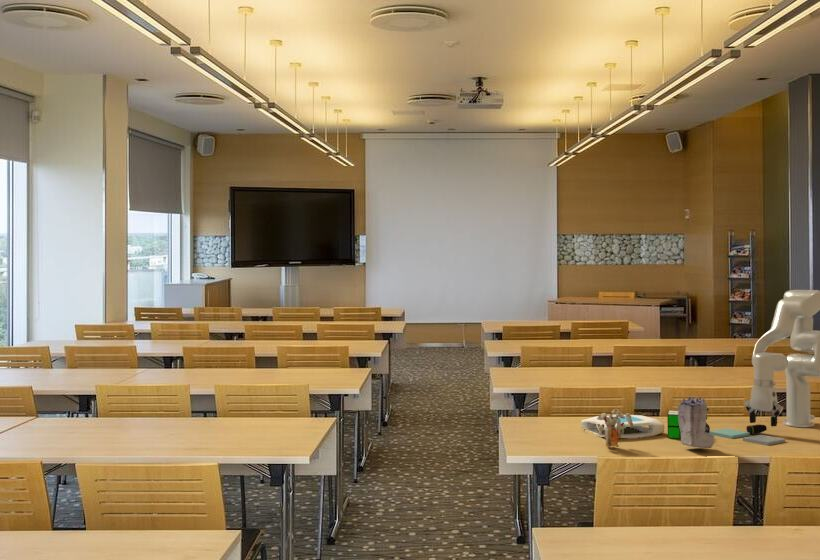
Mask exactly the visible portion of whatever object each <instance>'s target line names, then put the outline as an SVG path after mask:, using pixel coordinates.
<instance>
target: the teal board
mask: <svg viewBox="0 0 820 560" xmlns="http://www.w3.org/2000/svg"><path fill="white" fill-rule="evenodd" d="M709 434H712V435H714V437H715V436H716V437H720V438H726V439H731V440H732V439H733V440H734V439H737V438H744V437H750V436H751V433H749V432H747V431H743V430H736V429H730V428H723V429H717V430H710V432H709Z"/></svg>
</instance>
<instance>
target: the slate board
mask: <svg viewBox="0 0 820 560" xmlns="http://www.w3.org/2000/svg"><path fill="white" fill-rule="evenodd" d="M742 442H747V443H752V444H759V445H765V446H773V445H777V444H782V443H786V438H783V437H782V438H781V437H776V436H771V435H764V434H755V435H752V436H751V435H750V436H744V437H742Z"/></svg>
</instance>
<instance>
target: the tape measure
mask: <svg viewBox="0 0 820 560" xmlns="http://www.w3.org/2000/svg"><path fill="white" fill-rule="evenodd" d="M745 428H746V432H749V433H750V434H752V435H758V434H761V433H763V432H765V431H767V429H768V427H767V425H766V424H752V425H747V426H746V427H745Z"/></svg>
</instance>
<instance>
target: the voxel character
mask: <svg viewBox="0 0 820 560" xmlns="http://www.w3.org/2000/svg"><path fill="white" fill-rule="evenodd" d="M614 414H615V415H616V417H613V415H614ZM607 415H609V417H610V418H608V417H607ZM624 415H626V420H627V422H628V424H630V426H633V423H632V419H631V415H632V414H631V413H625V414H623V413H622V412H621V411H620V410H619V409H618V408H616V409H613V410H611V411H610V412H609V413H606V412H602V413H601V414H600V415H597V416H598V418H597V419H598V420H605V424H606V429H604V424H602V425H600V424H598V425H597V427H598V429H599V430H598V434H599V435H605V437H606V438H605V447H607V448H611V447H614V448H619V444H618V441H619V439H618V438H621V434H625V433H624V432H625V429H626V428H625V424H624V422H623V423H621V420H620V418H622V419H625V416H624ZM618 417H620V418H618ZM616 423H617V429H616V428H615V425H616ZM603 429H604V430H603Z"/></svg>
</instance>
